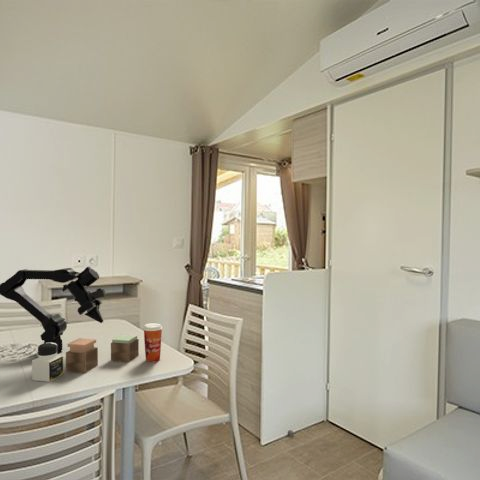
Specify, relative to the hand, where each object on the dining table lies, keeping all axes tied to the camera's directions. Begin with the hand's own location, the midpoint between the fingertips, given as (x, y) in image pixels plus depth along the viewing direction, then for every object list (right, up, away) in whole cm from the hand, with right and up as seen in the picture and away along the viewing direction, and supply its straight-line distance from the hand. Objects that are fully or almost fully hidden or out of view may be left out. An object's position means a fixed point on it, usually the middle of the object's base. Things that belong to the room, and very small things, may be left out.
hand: (102, 322), depth 162 cm
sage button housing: (+11, -13, -6) cm, 19 cm away
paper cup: (+23, -14, -8) cm, 28 cm away
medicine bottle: (-10, -14, -27) cm, 32 cm away
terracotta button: (-1, -11, -18) cm, 21 cm away
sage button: (+11, -12, -6) cm, 18 cm away
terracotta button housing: (-1, -14, -18) cm, 22 cm away
